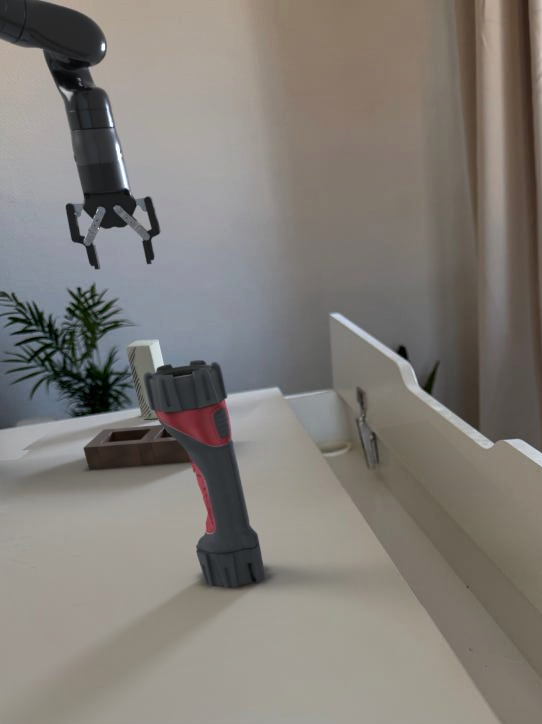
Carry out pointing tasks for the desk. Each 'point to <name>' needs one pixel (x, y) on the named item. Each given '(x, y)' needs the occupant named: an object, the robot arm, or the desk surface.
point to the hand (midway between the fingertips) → (123, 266)
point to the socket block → (134, 448)
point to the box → (144, 370)
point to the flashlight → (209, 467)
